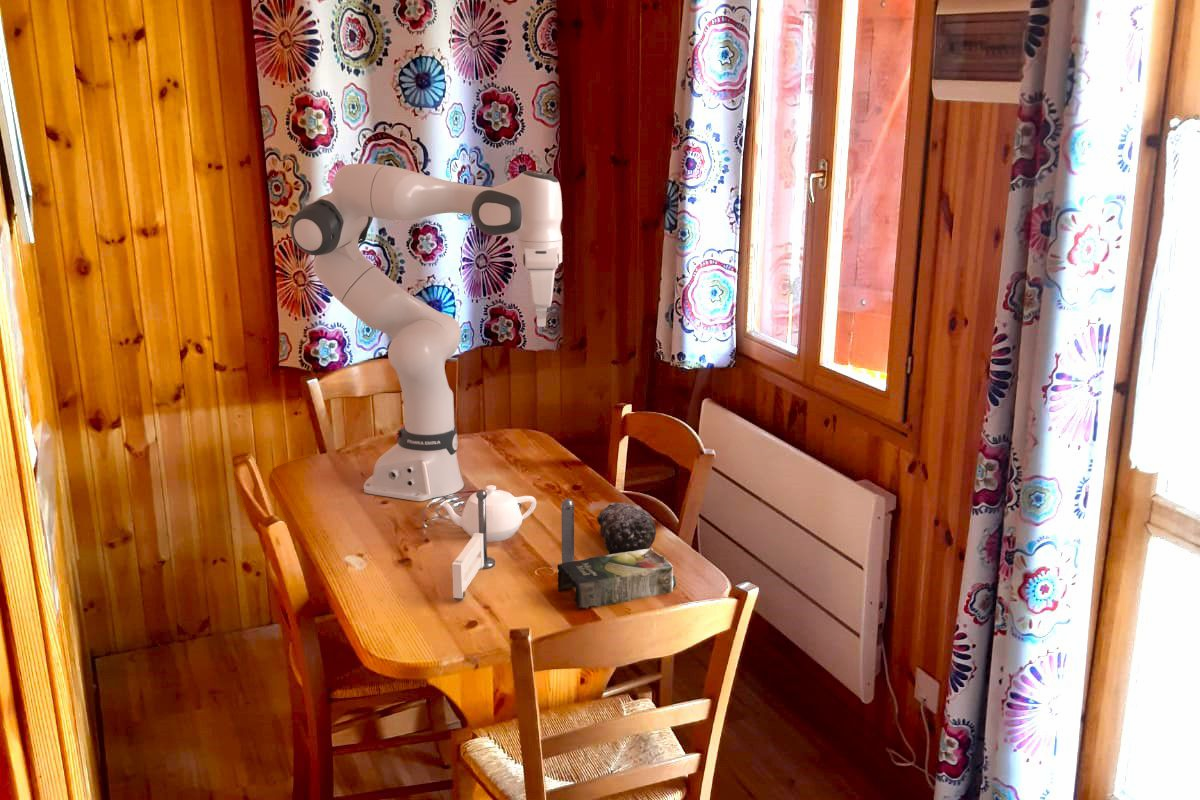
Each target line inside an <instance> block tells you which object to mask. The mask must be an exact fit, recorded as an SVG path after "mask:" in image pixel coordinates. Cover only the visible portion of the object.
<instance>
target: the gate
mask: <svg viewBox="0 0 1200 800" xmlns="http://www.w3.org/2000/svg"><path fill="white" fill-rule="evenodd" d="M451 565H452V566H451V567H452V568H451V569H452V590H453V591H452V597H453V599H454V600H455V601H457V602H460V601H463V600H464V598H465V596H466V592H465V591H466V590H467V588H468V587H469V585H470V583H471V582H472V581H473V579H474V578H475V576H476V575H477V574H478V572H479V570H483V569H482V568H483V566H484V546H483V533H474V535H473V536H472V537H471V538H470V539H469V541H468V542H467V544H466V545H465V547H464V548H463V550H462V551H461V552H460V554H459V555H458V556H457V557H456V558H455V560H454V561H453V563H451Z"/></svg>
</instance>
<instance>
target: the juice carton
mask: <svg viewBox="0 0 1200 800" xmlns="http://www.w3.org/2000/svg"><path fill="white" fill-rule="evenodd" d="M673 567H674V566H673V565H672V563H671V562H670V561H668V560H666V557H665V556H664V555H661V554H659V553H658V552H656V551H654V549H653V548H652V547H650V548H649V549H642V550H636V551H629V552H623V553H616V554H606V555H600V556H594V557H588V558H587V559H586V558H585V559H580V560H574V561H572V562H566V563H562V562H561V563H559V564H557V589H558V592H559V593H561V590H567V589H571V588H573V589H574V591H575V595H574V596H575V597H574V602H575V604H576V606H577V608H578V609H579V610H580V611H581V610H582V609H581V608H585V609H589V608H590V607H597V608H601V606H611V605H612V606H613V605H614V603H615V604H622V603H624V602H625V603H626V602H631V601H635V600H639V599H644V598H650V597H655V596H659V595H664V594H670V593H673V590H674V588H675V587H676V586H677V581H676V576H675V575H674V568H673Z"/></svg>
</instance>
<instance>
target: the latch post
mask: <svg viewBox="0 0 1200 800" xmlns="http://www.w3.org/2000/svg"><path fill="white" fill-rule="evenodd" d="M560 507H561V515H560V516H561V517H560V518H561V564H562V563H566V562H572V561H575V503H574V501H573V499H571V498H565V499H563V500H562V502H561V505H560Z"/></svg>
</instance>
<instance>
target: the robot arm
mask: <svg viewBox="0 0 1200 800" xmlns="http://www.w3.org/2000/svg"><path fill="white" fill-rule="evenodd" d="M331 191H332V192H329V193H327V194H325V195H322V196H320V197H318V198H317V199H316V200H314V201H313V202H311V203H309V204H306V205H304V206H303V207H302V208H301V209H300V210H298V212H296V214H295V215H293V218H292V220H291V222H290V227H289V228H290V236H291V239H292V241H293V243H294V244H295V246H296V247H297V248H298V249H299V250H300V251H302V252H303V253H305V254H307V255H309V256H314V257H315V258H314V260H313V264H312V268H313V273H314V274H315V276H316V277H317V279H318V280H319V282H320V283H322V285H323V286H324V287H325V288H326V289H327V291H328V292H329V293H330V294H331V295H332V296H333V297H334V298H335V299H336V300H337V301H339V303H341V305H342V306H344V307H345V308H346V309H348V311H350V312H351V313H352V314H353V315H354V316H355V317H356V318H358V319H359V320H360V321H361V322H362V323H363V324H364V325H366V326H367V327H369V328H370V329H373V330H377V331H379V332H382V333H383V334H385V335H387V336H390V337H391V338H392V339H391V342H390V343H389V345H388V349H387V356H388V362H389V363H390V365H391V367H392V369H394V371H395V372H396V374H397V377H398V381H399V385H400V389H401V394H402V401H403V416H404V423H403V424H402V425H401V426H400V428H399V429H398V430H397V431H396V433H395V434H394V436H395V437H394V439H395V440H397V443H395V444H394V445H393V446H392V447H391V448H389V449H388V450H386V451H385V452H384V453H383V454H382V455H381V456H379V458H377V460H376V462H375V464H374V467H373V473H372V475H371V476H369V477H368V478H367V479H366V481H365V482H364V483H363V489H364V490H363V492H364V493H365V494H370V495H376V496H383V497H390V498H394V499H400V500H401V499H402V500H406V501H407V500H409V501H414V502H424V501H427V500H430V499H434V498H438V497H439V498H440V497H446V496H449V495H452V494H455V493H457V492H459V491H461V490H462V489H463V488H464V485H465V482H464V480H463V477H462V473H461V470H460V467H459V461H458V454H457V453H458V452H457V451H458V446H459V445H458V444H459V443H458V433H457V432H458V430H457V425H456V424H455V404H454V401H455V400H454V392H453V390H452V389H451V388H450V386H449V382H448V379H447V374H446V370H445V367H446V366H445V364H446V361H447V360H448V359H449V358H450V357H452V356H453V355H454V354H455V352H456V351H457V349H458V347H459V345H460V343H461V339H462V330H461V329H462V328H461V326H460V325H459V323H458V321H457V320H456V319H455V318H454V317H453V316H451V315H450V314H447V313H444V312H441V311H439V310H437V309H435V308H433V307H432V306H430V305H429V304H427V303H425V302H424V301H422V300H420V299H419V298H417V297H415V296H413V295H412V294H410V293H409V292H407V291H406V290H405V289H403V288H401V287H400V286H399V285H398V284H397V283H395V281H393V280H392V279H391V278H390V277H389V276H388V275H386V274H385V273H384V272H383V271H382V270H380V269H379V268H378V267H377V266H376V265H375V264H374V263H373V262H371V261H370V260H369V259H368V258H367V257H366V256H365V255H364V254H363V253H362V252H361V250H360V248H359V245H361V244H362V243H364V242H365V241H366V239H367V236H368V231H369V229H370V227H371V225H372V223H373V219H374V218H376V219H381V220H387V221H413V220H419V219H422V218H427V217H431V216H435V215H441V214H452V213H453V214H464V215H471V218H472V221H473V223H474V225H475V227H476V229H478V230H479V231H480V232H482V233H483V234H485V235H486V236H487V235H488V236H492V237H493V236H494V237H500V236H505V235H508V234H516V235H517V239H518V240H517V242H518V245H517V249H518V254H517V255H518V256H517V257H518V263H520V264H522V265H523V266H524V271H525V272H527V274H528V275H527V276H528V283H529V289H530V297H531V298H530V299H531V305H532V307H533V308H535V316H536V326H537V327H538V328H540V327H541V328H543V327H544V328H545V326H546V325H547V311H548V309H549V308H550V307H551V306H552V302H553V295H554V286H555V285H554V283H555V275H556V271H557V269H558V268H559V265H560V264H561V263H563V235H562V230H561V225H562V224H561V223H562V220H563V201H562V200H563V199H562V190H561V185H560V182H559V180H558V178H557V177H556V176H555V175H552V174H550V173H548V172H544V171H537V170H525V171H522V172H521V173H520V174H518V176H516V177H515V178H513V179H511V180H509V181H507V182H504V183H503V184H500V185H497V186H486V185H478V184H477V185H476V184H469V183H463V182H456V181H451V180H445V179H442V178H438V177H434V176H431V175H426V174H423V173H420V172H417V171H413V170H410V169H406V168H402V167H397V166H392V165H387V164H378V163H351V164H350V163H349V164H345V165H343V166H341V167H340V168H339V169H338V171H336V173H335V175H334V177H333V181H332V190H331Z"/></svg>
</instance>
